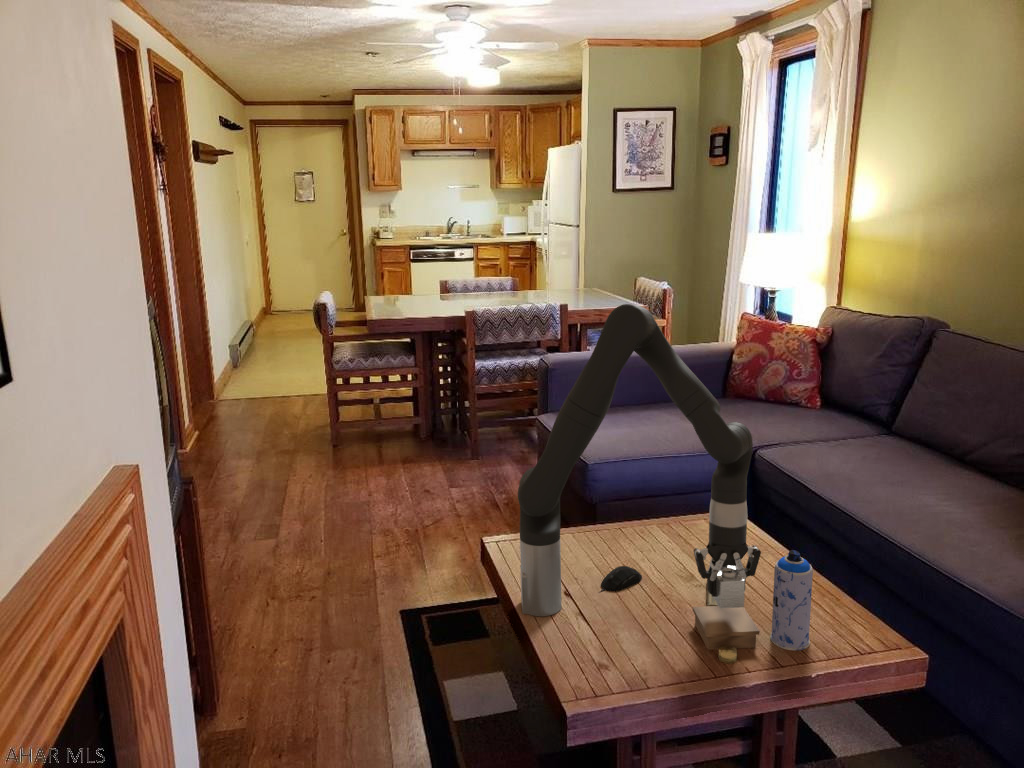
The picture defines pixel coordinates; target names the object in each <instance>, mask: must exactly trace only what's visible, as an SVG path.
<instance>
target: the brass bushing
mask: <svg viewBox="0 0 1024 768" xmlns="http://www.w3.org/2000/svg"><path fill="white" fill-rule="evenodd" d="M717 658H718V660H719V661H720V662H722V663H724V664H729V665H730V664H734V663H736V662H737V661H738V650H737V648H734V647H732V646H728V645H724V646H721V647H719V649H718V657H717Z"/></svg>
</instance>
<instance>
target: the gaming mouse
mask: <svg viewBox="0 0 1024 768" xmlns="http://www.w3.org/2000/svg"><path fill="white" fill-rule="evenodd" d="M642 580H643V575H642V574H641V572H639V571H638V570H636V569H635V568H633V567H630V566H627V565H621V566H617V567H615V568H613V569H612V570H611V571H610V572H609V573H607V574H606V576H604V578H603V579H602V581H601V583H600V585H601V586H600V587H601V588H602V589H601V590H600V591H599V592H598V594H600V593H603V592H606V591H609V592H612V593H613V592H620V591H623V590H625V589H628V588H630V587H631V586H635V585H637V584H639V583H640V582H641V581H642Z"/></svg>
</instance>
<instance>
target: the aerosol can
mask: <svg viewBox="0 0 1024 768" xmlns="http://www.w3.org/2000/svg"><path fill="white" fill-rule="evenodd" d="M813 571H814V570H813V567H812V564H810V563H809V561H808V560H807V559H806V558H803V557H801V552H799V551H798V550H795V549H791V550H790V549H789V551H788V554H787V555H785V556H782V557H781V558H780V559H778V560H777V561H776V562H775V565H774V573H773V574H774V576H773V594H772V595H773V596H772V597H773V598H772V615H771V616H772V617H771V633H770V641H771V642H772V643H773V644H774V645H775V646H777V647H778V648H781V649H784V650H789V651H803V650H805V649H808V648H809V646H810V644H811V643H810V642H811V641H810V625H811V611H812V610H811V609H812V608H811V607H812V591H813V574H814V572H813Z"/></svg>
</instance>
